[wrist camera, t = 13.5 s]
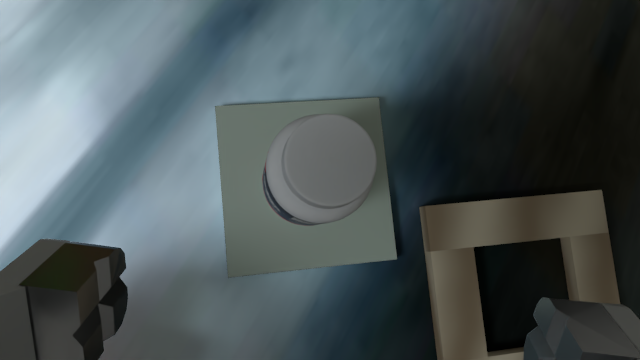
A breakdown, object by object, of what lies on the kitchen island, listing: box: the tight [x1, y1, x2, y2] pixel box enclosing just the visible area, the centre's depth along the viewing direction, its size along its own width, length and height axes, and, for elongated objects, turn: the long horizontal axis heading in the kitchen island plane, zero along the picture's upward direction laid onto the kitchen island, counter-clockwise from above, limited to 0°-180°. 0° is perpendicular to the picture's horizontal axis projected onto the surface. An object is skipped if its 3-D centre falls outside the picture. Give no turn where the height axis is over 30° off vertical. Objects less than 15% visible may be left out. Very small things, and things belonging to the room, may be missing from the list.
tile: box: [215, 97, 397, 278], centre depth 30 cm, size 10×10×1 cm
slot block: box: [419, 190, 620, 360], centre depth 31 cm, size 12×12×1 cm
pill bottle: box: [262, 114, 377, 226], centre depth 25 cm, size 5×5×9 cm
